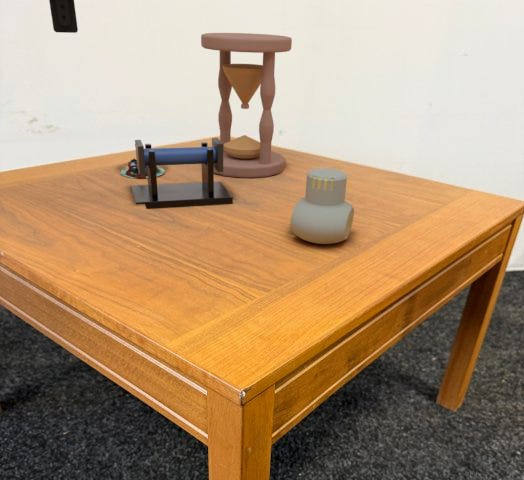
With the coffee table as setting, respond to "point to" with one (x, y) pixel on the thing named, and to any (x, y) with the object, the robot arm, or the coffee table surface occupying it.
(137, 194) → the holder
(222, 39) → the hourglass
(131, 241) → the coffee table surface
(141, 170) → the handle
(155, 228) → the coffee table surface
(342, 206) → the air freshener
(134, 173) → the dish
